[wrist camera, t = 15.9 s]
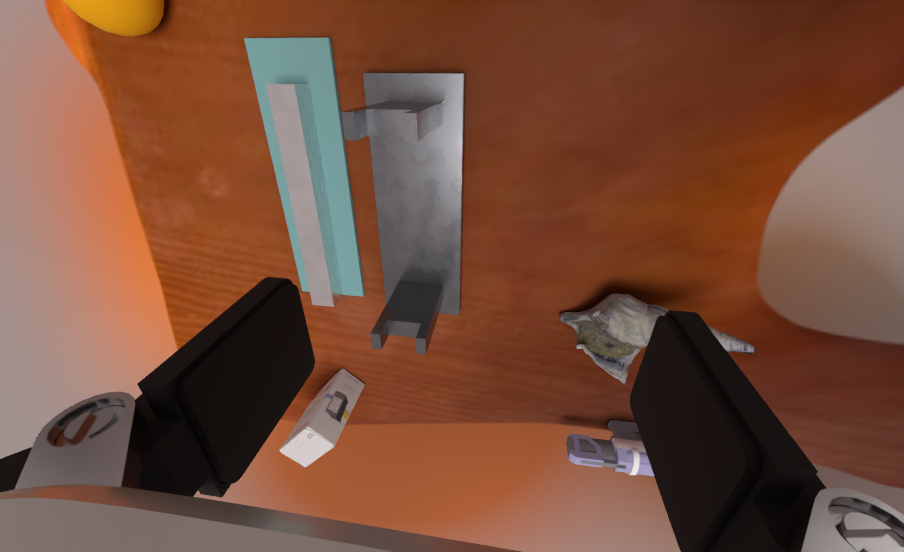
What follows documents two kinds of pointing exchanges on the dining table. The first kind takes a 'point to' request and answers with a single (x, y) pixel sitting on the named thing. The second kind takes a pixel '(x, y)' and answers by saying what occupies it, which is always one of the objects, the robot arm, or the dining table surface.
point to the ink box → (323, 419)
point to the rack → (415, 195)
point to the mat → (317, 69)
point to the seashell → (626, 332)
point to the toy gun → (612, 450)
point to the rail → (306, 188)
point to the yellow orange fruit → (120, 14)
